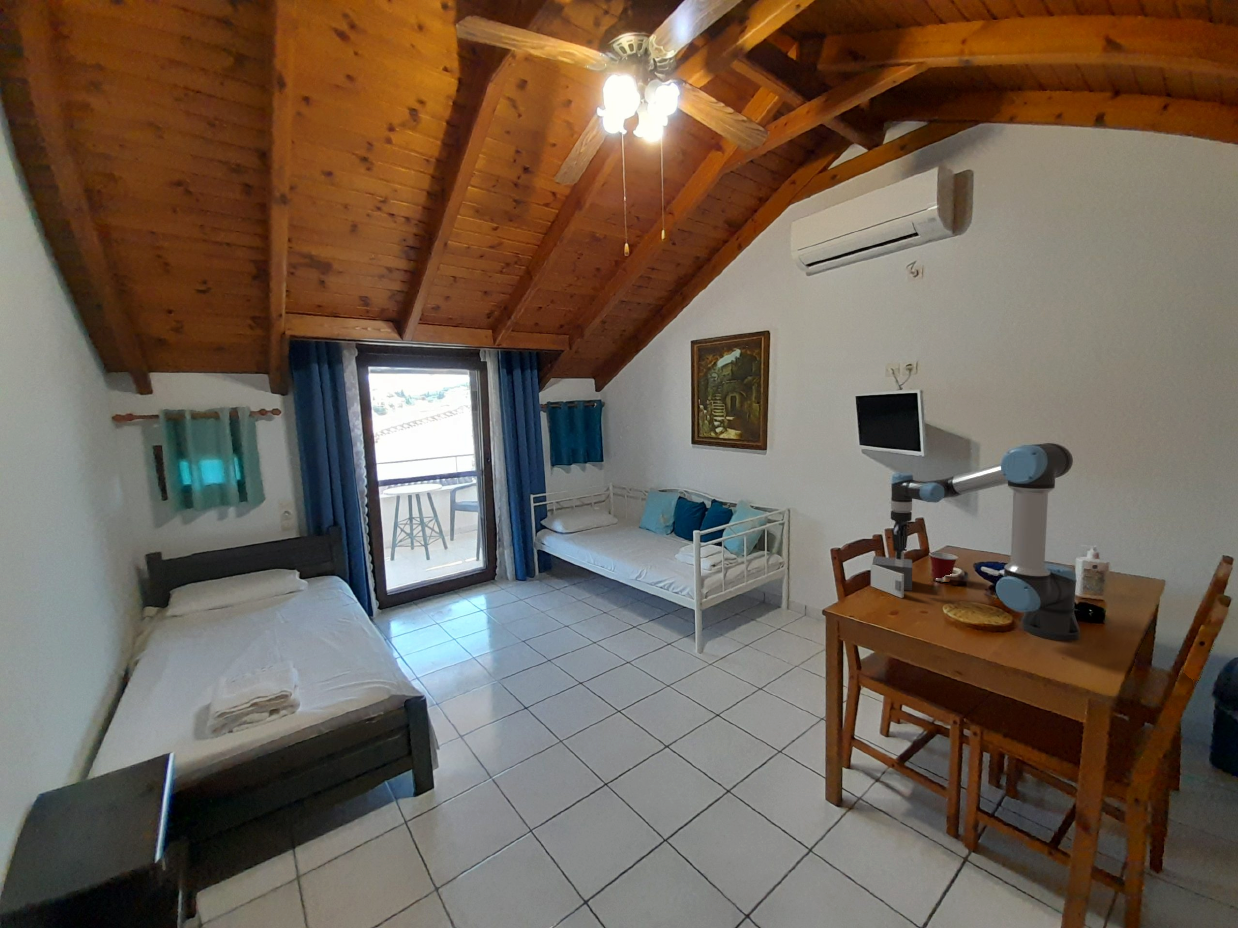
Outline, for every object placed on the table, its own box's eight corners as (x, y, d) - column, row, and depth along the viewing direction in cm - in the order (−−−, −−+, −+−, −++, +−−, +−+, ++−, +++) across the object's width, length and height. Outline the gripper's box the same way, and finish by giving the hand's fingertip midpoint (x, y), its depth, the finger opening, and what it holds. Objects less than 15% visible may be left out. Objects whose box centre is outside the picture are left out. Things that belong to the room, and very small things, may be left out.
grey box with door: (911, 590, 209) (912, 567, 208) (872, 586, 217) (872, 563, 215) (911, 580, 221) (911, 558, 220) (873, 576, 229) (873, 555, 227)
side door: (900, 598, 202) (900, 575, 201) (868, 585, 216) (869, 564, 215) (903, 597, 202) (904, 574, 201) (871, 585, 217) (872, 563, 216)
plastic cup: (963, 583, 215) (964, 556, 214) (942, 586, 213) (943, 559, 211) (942, 575, 226) (942, 549, 224) (922, 578, 223) (922, 552, 222)
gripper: (897, 506, 211) (895, 560, 214) (885, 512, 202) (883, 567, 205) (916, 509, 205) (914, 564, 208) (905, 514, 197) (903, 572, 200)
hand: (899, 565), depth 207 cm, fingers closed
